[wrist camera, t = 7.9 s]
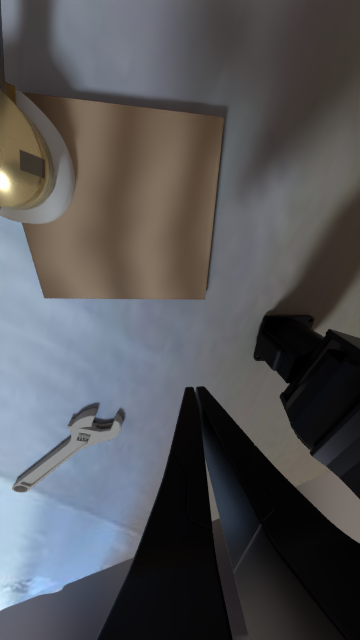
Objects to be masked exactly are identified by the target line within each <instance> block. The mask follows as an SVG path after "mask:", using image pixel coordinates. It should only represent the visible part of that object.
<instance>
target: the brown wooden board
mask: <svg viewBox="0 0 360 640" xmlns="http://www.w3.org/2000/svg"><path fill="white" fill-rule="evenodd" d="M5 95H6V96H7V97H9V98H10V99H11V100H12V101H13V102H14V103H15V104H16V105H17V106H18V107H19V108H20V109H21V110H23V111H24V112H25V113H26V114H27V115H28V116H29V117H30V119H31V120H32V121H33V122H34V123H35V125H36V126H37V127H38V129H39V130H40V132H41V133H42V135H43V137H44V139H45V141H46V143H47V145H48V147H49V150H50V153H51V156H52V160H53V165H54V184H53V188H52V191H51V193H50V195H49V197H48V198H47V200H46V201H45V202H44V203H43V204H41V205H40V206H38V207H36V208H33V209H30V210H15V209H10V208H5V207H1V209H0V216H3V217H5V218H7V219H10V220H13V221H17V222H22V225H23V228H24V232H25V235H26V238H27V242H28V245H29V248H30V252H31V255H32V258H33V262H34V265H35V269H36V272H37V275H38V279H39V282H40V285H41V289H42V292H43V295H44V298H80V299H205V295H206V286H207V276H208V267H209V257H210V247H211V238H212V228H213V219H214V209H215V199H216V190H217V180H218V171H219V161H220V151H221V142H222V132H223V123H224V117H218V116H210V115H202V114H194V113H185V112H177V111H169V110H161V109H153V108H145V107H136V106H128V105H120V104H112V103H104V102H96V101H87V100H79V99H71V98H63V97H55V96H47V95H38V94H30V93H22V92H20V91H18V90H17V89H16V88H15V87H14V86H12V85H10V84H8V83H6V82H5Z"/></svg>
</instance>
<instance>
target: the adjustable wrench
mask: <svg viewBox="0 0 360 640" xmlns="http://www.w3.org/2000/svg"><path fill="white" fill-rule="evenodd" d="M96 412H97V408H92V409H88V410H86V411H83V412H82V413H80V414H79V415H78V416H77V417H76V418H75V419H73V418H71V420H70V422H69V424H68V429H69V430H70V432H71V437H70V438H69V439H68V440H67V441H65V442H64V443H63V444H62V445H60V446H59V447H58V448H56V449H55V450H54V451H53V452H51V453H50V454H49V455H48V456H46V457H45V458H44V459H42V460H41V461H40V462H39V463H37V464H36V465H35V466H34V467H32V468H31V469H30V470H28V471H27V472H26V473H25V474H23V475H22V476H21V477H20V478H18V479H17V480H16V482H15V484H14V485H13V487H12V490H14V491H15V492H21V493H22V492H27V491H29V490H30V489H31V488H32V487H34V486H35V485H36V484H38V483H39V482H40V481H41V480H43V479H44V478H45V477H46V476H48V475H49V474H50V473H51V472H53V471H54V470H55V469H56V468H58V467H59V466H60V465H62V464H63V463H64V462H65V461H67V460H68V459H69V458H70V457H72V456H73V455H74V454H75V453H77V452H78V451H79V450H81V449H82V448H85V447H87V446H90V445H93V444H96V443H100V442H104V441H107V440H111V439H113V438H115V437H116V436H118V434H119V433H120V430H121V426H122V417H121V415H120V414H119V413H117V414H116V416H115V418H114V420H113V422H112V423H107V424H99V423H94V422H93V420H94V417H95V415H96Z"/></svg>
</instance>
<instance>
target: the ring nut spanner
mask: <svg viewBox="0 0 360 640" xmlns="http://www.w3.org/2000/svg"><path fill="white" fill-rule="evenodd" d="M53 184H54V165H53V160H52V156H51V153H50V150H49V147H48V145H47V143H46V141H45V139H44V137H43V135H42V133H41V132H40V130H39V129H38V127H37V126H36V125H35V123H34V122H33V121H32V120H31V119H30V117H29V116H28V115H27V114H26V113H25V112H24V111H23V110H21V109H20V108H19V107H18V106H17V105H16V104H15V103H14V102H13V101H12V100H11V99H10V98H9V97H7V96H6V95H5V77H4V57H3V37H2V18H1V0H0V209H1V207H5V208H10V209H15V210H30V209H33V208H36V207H38V206H40V205H41V204H43V203H44V202H45V201H46V200H47V198H48V197H49V195H50V193H51V191H52V188H53Z"/></svg>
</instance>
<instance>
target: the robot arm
mask: <svg viewBox="0 0 360 640" xmlns="http://www.w3.org/2000/svg"><path fill="white" fill-rule="evenodd" d="M268 319H269V320H268ZM309 319H310V320H309ZM267 320H268V321H267ZM313 322H314V317H312V316H309V315H306V316H265V317H264V319H263V322H262V326H261V330H260V333H259V335H258V339H257V343H256V347H255V352H254V356H253V357H254V359H255V360H256V361H265V362H266V363H267V364H268V365H269V366H270V367H271V369H272V370H273V371H277V373H278V374H279V375H280V376H281V377H282V378H283V379H284V381H285V382H286V383H290V384H289V386H288V387H287V388H286V390H285V391H284V392H282V393H281V395H280V399H281V401H282V404H283V406H284V409H285V411H286V413H287V416H288V418H289V421H290V425H291V427H292V429H293V430H294V432H295V434H296V435H297V437H298V438H299V439H300V440H301V442H302V443H303V444H304V445H305V446H306V447H307V448H308V449H309V450H311V451H310V454H311V456H312V457H314V458H315V459H317V460H318V461H319V462H321V463H322V464H324V465H325V466H326V467H328V468H329V469H330V470H331V471H332V472H334V474H336V475H337V476H338V477H339V478H340V479H341V480H342V481H343V482H344V483H345V484H346V485H347V486H348V487H349V488H350V489H351V490H352V491H353V492H354V493H355V495H356V496H357V497H358V498H359V499H360V338H357V337H354V336H351V335H348V334H344V333H341V332H338V331H335V330H331V329H328V331H327V332H326V336H325V337H323V336H322V335H320V334H318V333H316V332H315V331H313V330H311V327H312V325H313ZM258 356H259V357H258ZM205 459H206V463H207V467H208V471H209V475H210V479H211V484H212V488H213V492H214V496H215V500H216V504H217V508H218V512H219V516H220V520H221V524H222V528H223V532H224V536H225V540H226V544H227V548H228V553H229V557H230V561H231V565H232V569H233V572H234V577H235V581H236V585H237V590H238V594H239V598H240V601H241V606H242V609H243V614H244V618H245V622H246V626H247V630H248V634H249V638H250V640H360V543H358V542H356V541H355V540H353V539H352V538H350V537H349V536H348V535H346V534H345V533H343V532H342V531H341V530H340V529H338V528H337V527H336V526H335V525H334V524H332V523H331V522H330V521H329V520H328V519H327V518H326V517H325V516H324V515H323V514H322V513H321V512H320V511H319V510H318V509H317V508H316V507H314V505H313V504H312V503H311V502H310V501H308V500H307V498H306V497H304V496H303V495H302V494H301V493H300V492H299V491H298V490H297V489H296V488H295V487H294V486H293V485H292V484H291V483H290V482H289V481H288V480H287V479H286V478H285V477H284V476H283V475H282V474H281V473H280V472H279V471H278V470H277V469H276V468H275V467H274V465H273V464H272V463H271V462H270V461H269V460H268V459H267V458H266V457H265V456H264V454H263V453H262V452H261V451H260V450H259V449H258V448H257V446H254V443H253V442H252V441H251V440H250V438H249V437H248V436H247V435H246V434H245V433H244V432H243V430H242V429H241V428H240V427H239V426H238V425H237V424H236V422H235V421H234V420H233V419H232V418H231V417H230V415H229V414H228V413H227V412H226V411H225V410H224V409H223V407H222V406H221V405H220V404H219V403H218V402H217V401H216V399H215V398H214V397H213V396H212V395H211V394H210V392H209V391H208V390H207V389H206V388H205V387H204V386H200V387H196V392H195V391H194V388H193V387H186V388H185V391H184V395H183V400H182V404H181V408H180V412H179V416H178V420H177V424H176V428H175V432H174V437H173V441H172V445H171V449H170V454H169V457H168V461H167V465H166V468H165V472H164V476H163V479H162V482H161V485H160V488H159V491H158V494H157V497H156V500H155V502H154V505H153V508H152V511H151V513H150V516H149V519H148V522H147V524H146V527H145V530H144V533H143V535H142V538H141V541H140V543H139V546H138V549H137V551H136V554H135V556H134V559H133V561H132V564H131V566H130V569H129V571H128V573H127V575H126V578H125V580H124V582H123V584H122V586H121V588H120V590H119V593H118V595H117V597H116V599H115V601H114V603H113V605H112V607H111V609H110V611H109V614H108V616H107V618H106V620H105V622H104V624H103V626H102V628H101V630H100V632H99V635H98V637H97V639H96V640H232V635H231V630H230V625H229V620H228V615H227V610H226V606H225V601H224V596H223V591H222V586H221V581H220V576H219V571H218V566H217V561H216V554H215V547H214V540H213V533H212V520H211V511H210V502H209V493H208V483H207V474H206V465H205Z"/></svg>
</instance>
